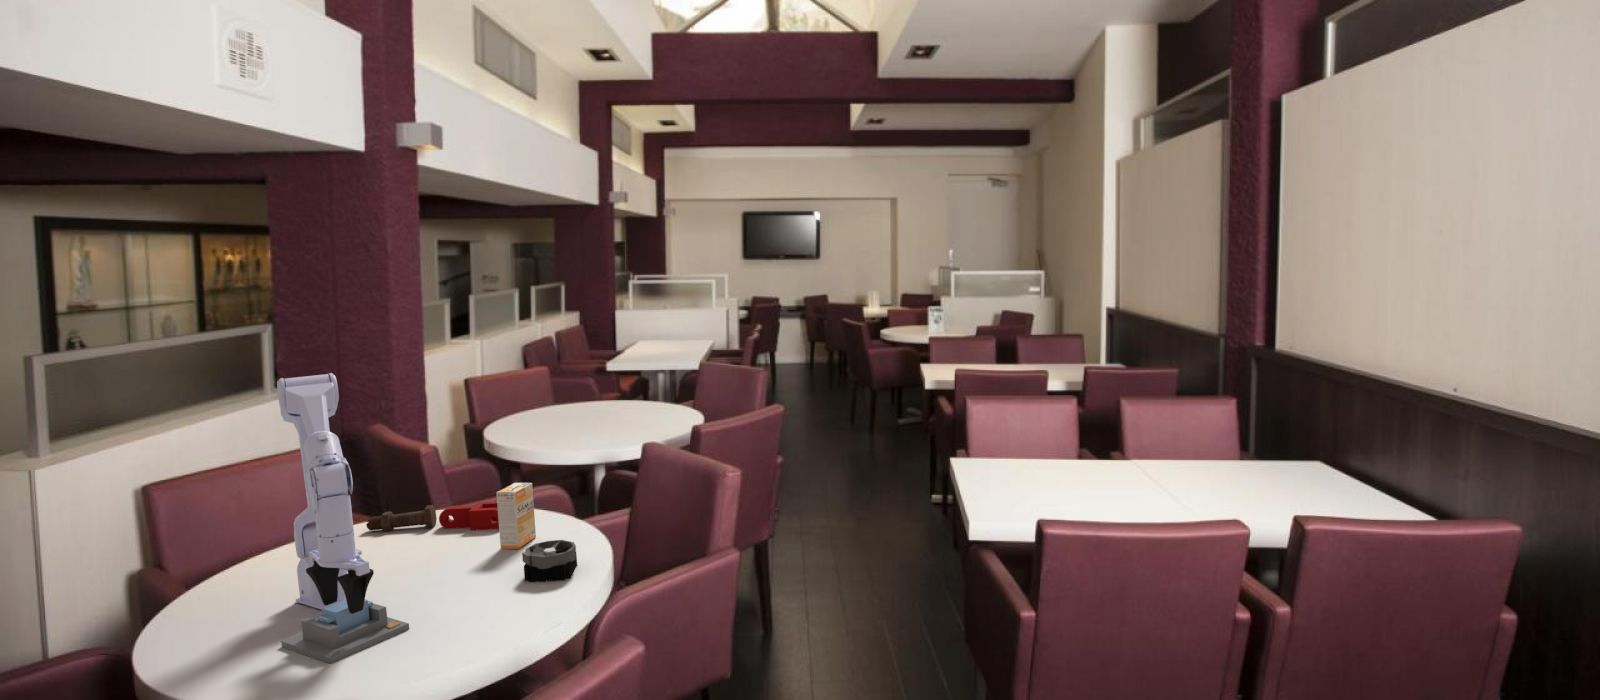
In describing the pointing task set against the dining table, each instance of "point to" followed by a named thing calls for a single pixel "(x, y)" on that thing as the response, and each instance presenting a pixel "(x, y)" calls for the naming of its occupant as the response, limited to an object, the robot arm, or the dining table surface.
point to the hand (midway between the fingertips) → (343, 607)
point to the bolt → (403, 520)
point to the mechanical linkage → (471, 516)
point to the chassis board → (343, 636)
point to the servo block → (345, 615)
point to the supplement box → (516, 515)
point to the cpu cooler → (550, 560)
